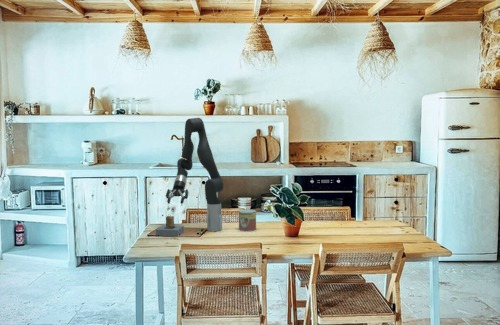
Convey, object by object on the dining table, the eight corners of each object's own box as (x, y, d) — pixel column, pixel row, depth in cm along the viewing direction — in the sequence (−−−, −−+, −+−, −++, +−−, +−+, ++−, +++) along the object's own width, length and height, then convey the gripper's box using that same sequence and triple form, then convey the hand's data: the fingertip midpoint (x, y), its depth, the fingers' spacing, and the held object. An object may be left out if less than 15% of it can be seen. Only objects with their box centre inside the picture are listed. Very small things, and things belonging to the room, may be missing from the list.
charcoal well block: (183, 231, 281) (183, 225, 281) (177, 236, 269) (177, 230, 269) (162, 231, 284) (162, 225, 283) (155, 235, 272) (155, 229, 271)
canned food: (236, 230, 284) (235, 212, 283) (242, 226, 294) (242, 208, 293) (252, 231, 280) (252, 213, 279) (258, 228, 290) (258, 209, 289)
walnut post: (174, 233, 278) (173, 215, 277) (172, 234, 274) (172, 217, 273) (168, 233, 279) (167, 215, 278) (166, 234, 275) (165, 217, 274)
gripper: (168, 179, 294) (162, 199, 284) (189, 179, 292) (184, 200, 281) (171, 186, 300) (165, 206, 289) (191, 186, 297) (186, 206, 287)
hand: (174, 203), depth 285 cm, fingers open, 8 cm apart
